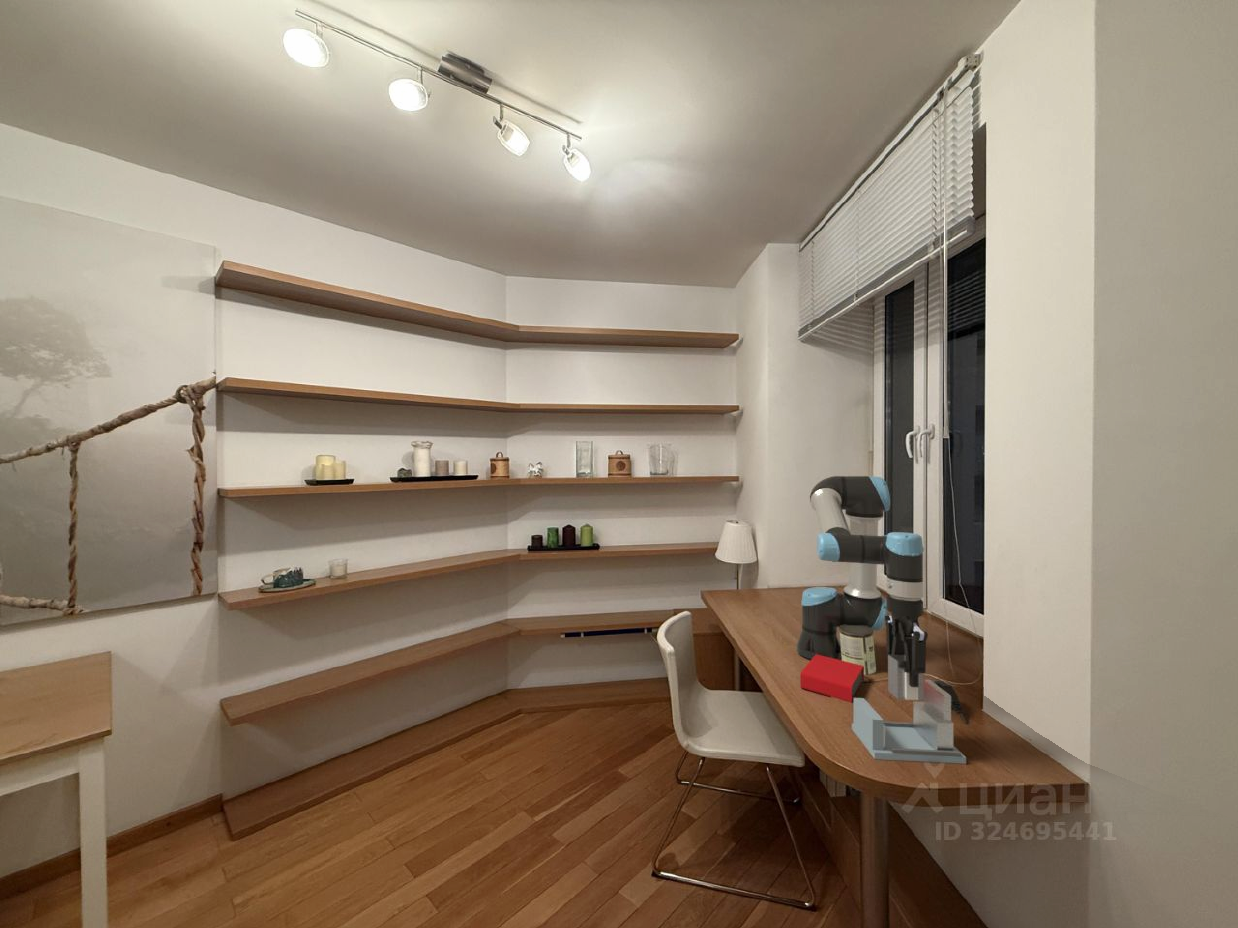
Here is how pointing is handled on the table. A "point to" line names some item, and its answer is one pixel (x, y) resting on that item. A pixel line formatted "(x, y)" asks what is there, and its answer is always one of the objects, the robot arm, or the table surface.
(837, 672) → the red device housing
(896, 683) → the steel block
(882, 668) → the table surface
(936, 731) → the sliding jaw
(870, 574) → the robot arm
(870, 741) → the vise base
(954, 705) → the power plug
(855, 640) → the coffee can
